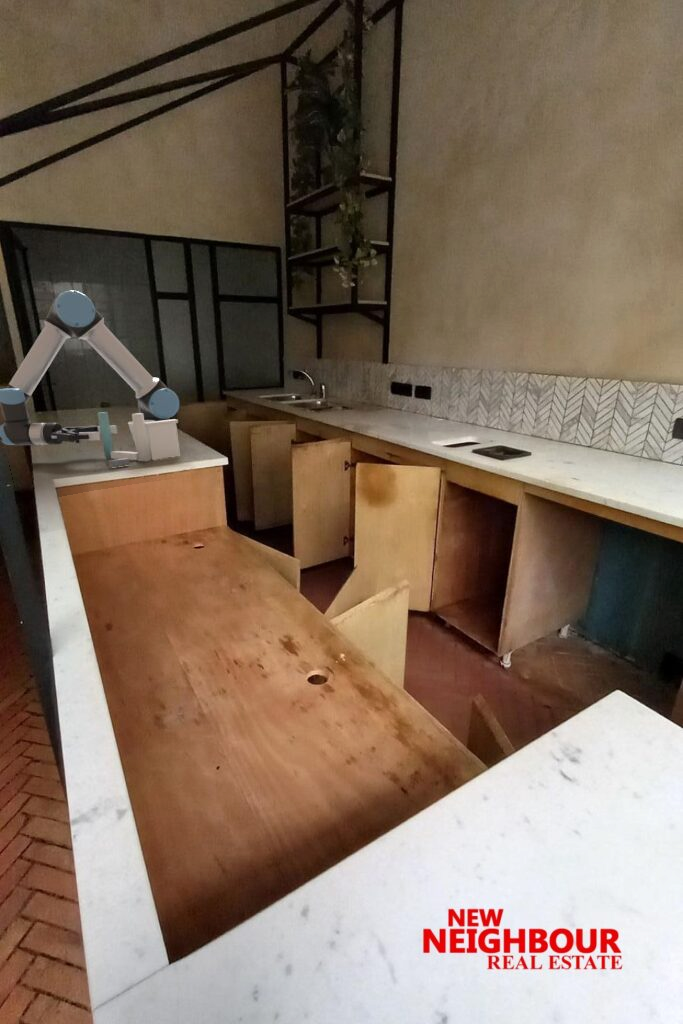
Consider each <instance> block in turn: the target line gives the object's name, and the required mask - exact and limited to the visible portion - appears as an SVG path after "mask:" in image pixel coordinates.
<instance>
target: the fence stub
mask: <svg viewBox="0 0 683 1024" xmlns="http://www.w3.org/2000/svg"><path fill="white" fill-rule="evenodd" d="M178 423H179V419H175V418H174V419H169V420H163V421H154V422H145V426H146V431H147V438H148V445H149V457H150V460H151V459H158V458H166V459H168V458H167V457H172V458H176V457H175V456H178V457H181V452H180V451H181V450H180V444H179V435H178V427H177V424H178Z"/></svg>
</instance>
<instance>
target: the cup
mask: <svg viewBox="0 0 683 1024" xmlns="http://www.w3.org/2000/svg"><path fill="white" fill-rule="evenodd" d="M145 422H154V420H144V423H145ZM127 425H128V427H129V430H130V433H131V435H132V439H133V441H134V445H135V449H137V445H136V439H135V432H134V426H133V420H132V421H129V422H127ZM145 430H146V426H145ZM146 436H147V431H146ZM147 443H148V438H147ZM148 450H149V445H148Z"/></svg>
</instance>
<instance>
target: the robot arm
mask: <svg viewBox="0 0 683 1024" xmlns="http://www.w3.org/2000/svg"><path fill="white" fill-rule="evenodd" d="M43 323H44V327H43V328H42V330H41V332H40V333H39V335H38V336H37V338H36V339H35V341H34V343H33V344H32V346H31V348H30V349H29V351H28V353H27V355H26V356H25V358H24V359H23V360H22V362H21V363H20V366H19V367H18V369H17V370H16V372H15V374H14V375H13V376H12V378H11V380H10V381H9V383H8V384H7V386H6V388H0V408H1V409H0V410H1V413H2V416H3V422H4V423H2V424H1V425H0V437H1V438H2V441H1V443H3V445H6V446H7V445H8V446H37V445H38V446H39V445H40V447H44V446H46V445H53V446H54V445H55V446H56V445H61V444H62V443H63V442H69V443H70V442H71V443H74V442H75V443H76V444H80V441H82V442H83V441H84V442H85V441H101V431H100V425H99V423H96V424H95V425H86V426H66V427H63V426H62V425H61V424H60V423H58V422H31V419H30V416H29V412H28V407H27V402H28V401H29V400H30V398H31V396H32V395H33V392H34V391H35V390H36V388H37V386H38V385H39V383H40V381H41V380H42V378H43V377H44V375H45V374H46V372H47V371H48V368H49V367H50V366H51V365H52V362H53V361H54V359H55V358H56V356H57V354H58V352H59V351H60V350H61V348H62V347H63V345H64V343H65V342H66V340H67V339H72V336H73V335H74V336H75V337H76V338H77V339H79V340H85V341H86V342H87V343H88V344H89V345H90V347H92V348H93V350H95V351H96V352H97V353H98V354H99V355H100V356H101V357H102V359H104V361H105V362H106V364H108V365H109V366H110V367H111V368H112V369H113V370H114V371H115V372H116V373H117V375H119V376H120V378H122V379H123V380H124V381H125V382H126V384H127V385H129V386H130V388H131V389H132V390H133V391H134V392H135V398H136V400H137V407H138V413H143V416H144V420H154V421H163V420H170V418H173V417H174V416H175V415H176V414H177V412H178V411H179V409H180V400H179V396H178V395H177V394H176V393H175V391H173V390H172V389H170V388H169V387H167V385H166V384H165V383H164V382H163V381H162V380H161V379H160V378H159V377H154V376H152V375H151V374H150V373H149V372H148V371H147V370H146V368H145V367H144V366H143V365H142V364H141V363H140V362H139V361H138V360H137V359H136V357H135V356H134V355H133V354H132V353H131V352H130V350H128V349H127V347H125V346H124V344H123V343H122V342H121V341H120V340H119V339H118V338H117V337H116V335H114V333H112V331H111V330H110V329H109V328H108V327H107V326H106V325H105V317H104V316H103V315H102V314H101V313H100V312H99V311H98V309H96V307H95V305H94V303H93V302H92V300H91V299H90V298H89V296H88V295H86V294H85V293H83V292H80V291H79V290H78V291H77V290H72V289H71V290H65V291H62V292H60V293H58V295H57V296H56V297H54V299H53V301H52V303H51V307H50V309H49V311H48V314H47V316H45V319H44V321H43ZM110 430H111V434H118V426H117V425H110Z"/></svg>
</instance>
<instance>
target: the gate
mask: <svg viewBox="0 0 683 1024" xmlns="http://www.w3.org/2000/svg"><path fill="white" fill-rule="evenodd" d="M131 417H132V421H133V426H134V432H135V439H136V445H137V448H136V451H123V450H115V449H114V443H113V436H112V433H111V430H110V426H111V424H110V419H109V414H108V411H101V412H97V418H98V424H99V425H100V431H101V434H100V437H101V441H102V447H103V448H102V449H103V453H104V457H105V458H104V459H105V460H115V459H122V458H129V460H130V461H131V460H132V461H138V462H140V461H145V462H149V461H151V459H150V452H149V450H148V443H147V436H146V430H145V423H144V416H143V413H139V412H137V413H132V414H131ZM136 445H135V446H136ZM148 460H149V461H148Z"/></svg>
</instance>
